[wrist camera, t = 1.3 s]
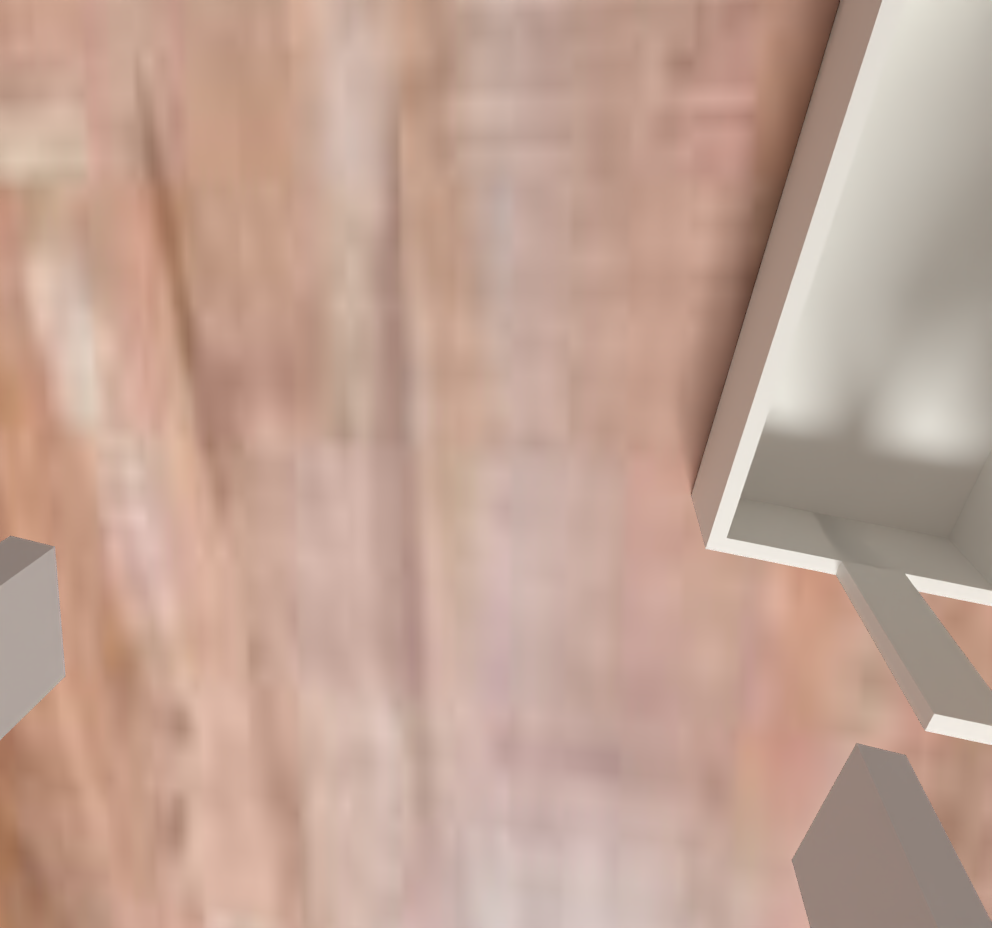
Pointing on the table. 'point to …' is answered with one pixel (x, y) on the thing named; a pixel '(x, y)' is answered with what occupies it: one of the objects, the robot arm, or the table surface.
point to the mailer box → (877, 349)
